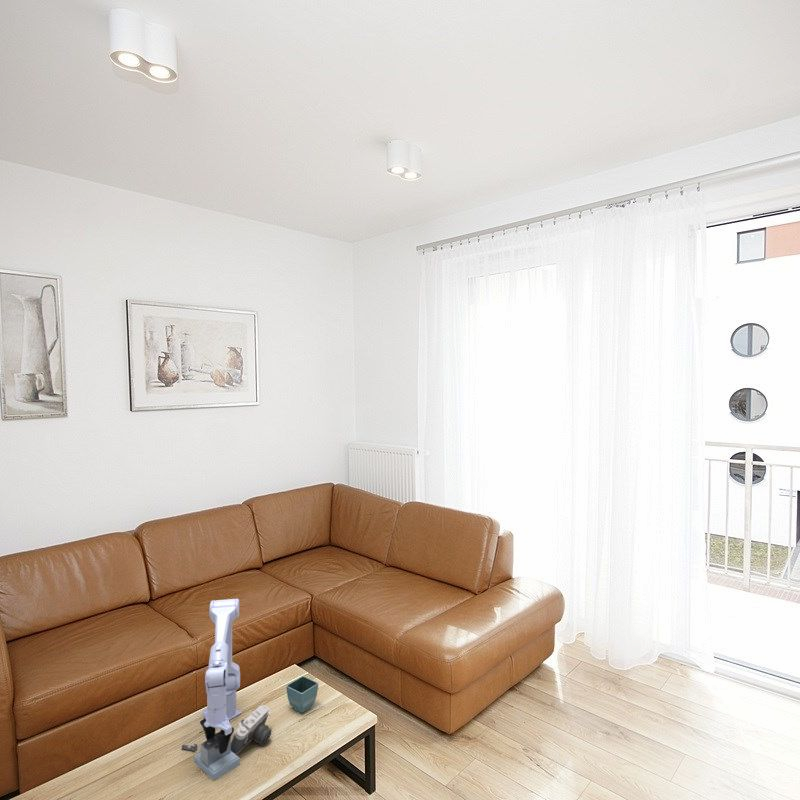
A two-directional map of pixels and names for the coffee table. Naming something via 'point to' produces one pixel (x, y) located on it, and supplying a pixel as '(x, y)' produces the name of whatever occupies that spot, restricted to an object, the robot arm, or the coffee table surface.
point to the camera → (252, 729)
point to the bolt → (190, 747)
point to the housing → (212, 751)
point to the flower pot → (302, 693)
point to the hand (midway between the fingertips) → (216, 746)
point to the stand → (218, 765)
